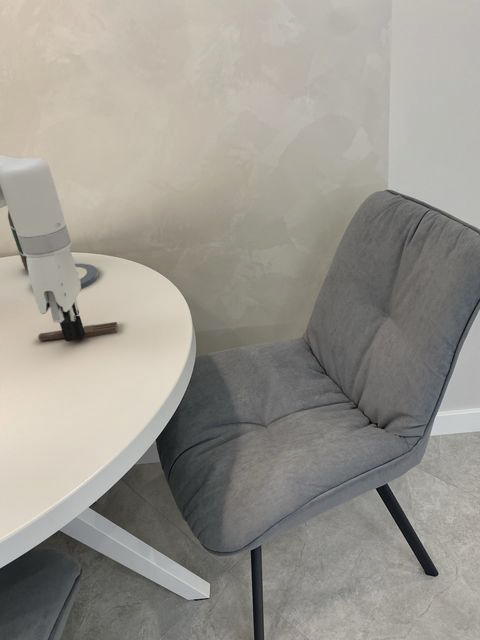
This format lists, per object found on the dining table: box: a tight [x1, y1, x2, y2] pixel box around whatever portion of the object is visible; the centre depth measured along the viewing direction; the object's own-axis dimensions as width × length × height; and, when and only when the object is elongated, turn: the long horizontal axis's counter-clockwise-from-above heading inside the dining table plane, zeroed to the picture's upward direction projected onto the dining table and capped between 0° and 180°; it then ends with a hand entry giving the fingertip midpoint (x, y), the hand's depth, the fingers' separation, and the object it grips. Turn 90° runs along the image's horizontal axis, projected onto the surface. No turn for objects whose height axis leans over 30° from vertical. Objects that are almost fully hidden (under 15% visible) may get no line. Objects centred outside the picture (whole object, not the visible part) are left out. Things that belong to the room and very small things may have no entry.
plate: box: [75, 263, 99, 289], centre depth 121 cm, size 14×14×1 cm
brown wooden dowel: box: [37, 321, 119, 342], centre depth 99 cm, size 14×3×1 cm, turn 99°
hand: (75, 338), depth 97 cm, fingers closed
